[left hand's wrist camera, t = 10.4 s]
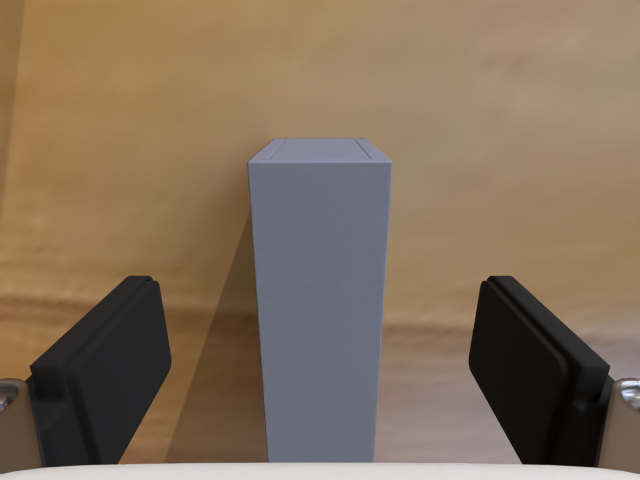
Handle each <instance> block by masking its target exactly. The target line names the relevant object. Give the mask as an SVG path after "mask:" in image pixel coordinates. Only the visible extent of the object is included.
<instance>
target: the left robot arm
mask: <svg viewBox="0 0 640 480" xmlns="http://www.w3.org/2000/svg"><path fill="white" fill-rule="evenodd" d="M170 367H171V353H170V347H169V341H168V335H167V329H166V323H165V317H164V311H163V304H162V298H161V292H160V286H159V283H158V282H157V281H153V279H152V277H150V276H128V277H127V278H126V279H124V280H123V281H122V282H121V283H120V284H119V285H118V286H117V287H116V288H115V289H114V290H112V291H111V292H110V293H109V294H108V295H107V296H106V297H105V298H104V299H103V300H101V301H100V302H99V303H98V304H97V305H96V306H95V307H94V308H93V309H92V310H91V311H89V312H88V313H87V314H86V315H85V316H84V317H83V318H82V319H81V320H80V321H79V322H77V323H76V324H75V325H74V326H73V327H72V328H71V329H70V330H69V331H68V332H67V333H65V334H64V335H63V336H62V337H61V338H60V339H59V340H58V341H57V342H56V343H55V344H53V345H52V346H51V347H50V348H49V349H48V350H47V351H46V352H45V353H44V354H43V355H41V356H40V357H39V358H38V359H37V360H36V361H35V362H34V363H33V364H32V365H30V369H31V372H32V375H31V376H30V377H29V378H28V379H27V380H26V381H23V380H21V379H18V378H4V379H0V480H640V379H636V378H622V379H619V380H617V381H614V380H613V379H612V378H611V377H610V376H609V375H608V372H609V369H610V365H608V364H607V363H606V362H605V361H604V360H603V359H602V358H601V357H600V356H599V355H597V354H596V353H595V352H594V351H593V350H592V349H591V348H590V347H589V346H588V345H587V344H585V343H584V342H583V341H582V340H581V339H580V338H579V337H578V336H577V335H576V334H575V333H573V332H572V331H571V330H570V329H569V328H568V327H567V326H566V325H565V324H564V323H563V322H561V321H560V320H559V319H558V318H557V317H556V316H555V315H554V314H553V313H552V312H551V311H549V310H548V309H547V308H546V307H545V306H544V305H543V304H542V303H541V302H540V301H539V300H537V299H536V298H535V297H534V296H533V295H532V294H531V293H530V292H529V291H528V290H526V289H525V288H524V287H523V286H522V285H521V284H520V283H519V282H518V281H517V280H516V279H514V278H513V277H512V276H490V277H488V279H487V281H483V282H482V283H481V286H480V292H479V298H478V304H477V311H476V317H475V323H474V329H473V335H472V341H471V347H470V353H469V367H470V371H471V373H472V374H473V376H474V378H475V380H476V382H477V383H478V385H479V387H480V389H481V391H482V392H483V394H484V396H485V398H486V400H487V401H488V403H489V405H490V407H491V409H492V410H493V412H494V414H495V416H496V418H497V419H498V421H499V423H500V425H501V427H502V428H503V430H504V432H505V434H506V436H507V437H508V439H509V441H510V443H511V445H512V446H513V448H514V450H515V452H516V454H517V455H518V457H519V459H520V461H521V463H522V464H523V465H516V464H467V463H173V464H124V465H117V464H118V463H119V461H120V459H121V457H122V455H123V454H124V452H125V450H126V448H127V446H128V445H129V443H130V441H131V439H132V437H133V436H134V434H135V432H136V430H137V428H138V427H139V425H140V423H141V421H142V419H143V418H144V416H145V414H146V412H147V410H148V409H149V407H150V405H151V403H152V401H153V400H154V398H155V396H156V394H157V392H158V391H159V389H160V387H161V385H162V383H163V382H164V380H165V378H166V376H167V374H168V373H169V371H170Z"/></svg>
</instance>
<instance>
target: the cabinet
mask: <svg viewBox="0 0 640 480" xmlns="http://www.w3.org/2000/svg"><path fill="white" fill-rule="evenodd" d="M247 164H248V179H249V193H250V208H251V222H252V237H253V252H254V266H255V281H256V295H257V310H258V325H259V339H260V354H261V368H262V383H263V398H264V412H265V427H266V441H267V456H268V463H373V462H374V446H375V431H376V415H377V399H378V383H379V368H380V352H381V336H382V321H383V305H384V289H385V274H386V258H387V242H388V227H389V211H390V195H391V179H392V164H393V163H392V161H391V160H390V159H388V158H387V157H386V156H385V155H384V154H383V153H381V152H380V151H379V150H378V149H377V148H376V147H375V146H373V145H372V144H371V143H370V142H369V141H368V140H366V139H365V138H345V139H274V140H273V141H272V142H270V143H269V144H268V145H267V146H266V147H265V148H263V149H262V150H261V151H260V152H259V153H258V154H256V155H255V156H254V157H253V158H252V159H251V160H250V161H249V162H248V163H247Z"/></svg>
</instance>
